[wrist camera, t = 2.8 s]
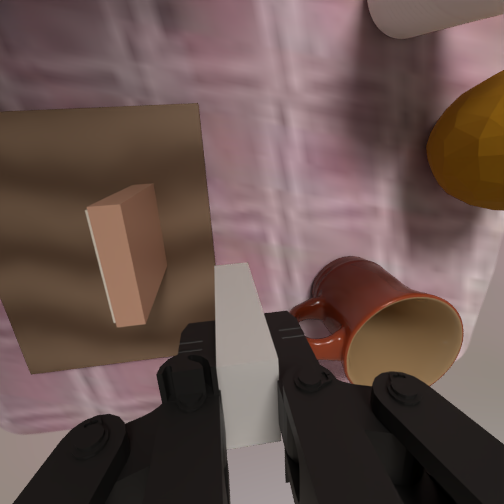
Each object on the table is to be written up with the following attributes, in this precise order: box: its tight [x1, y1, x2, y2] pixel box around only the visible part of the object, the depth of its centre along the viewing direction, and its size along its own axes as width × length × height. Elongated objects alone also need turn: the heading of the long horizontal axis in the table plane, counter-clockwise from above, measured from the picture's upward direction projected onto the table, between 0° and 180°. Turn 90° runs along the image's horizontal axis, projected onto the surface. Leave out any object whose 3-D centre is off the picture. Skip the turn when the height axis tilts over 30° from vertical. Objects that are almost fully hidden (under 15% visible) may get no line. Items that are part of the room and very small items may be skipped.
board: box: [0, 103, 216, 374], centre depth 25 cm, size 22×18×1 cm
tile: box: [85, 183, 167, 327], centre depth 20 cm, size 7×2×9 cm, turn 3°
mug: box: [289, 256, 463, 386], centre depth 25 cm, size 12×9×10 cm
